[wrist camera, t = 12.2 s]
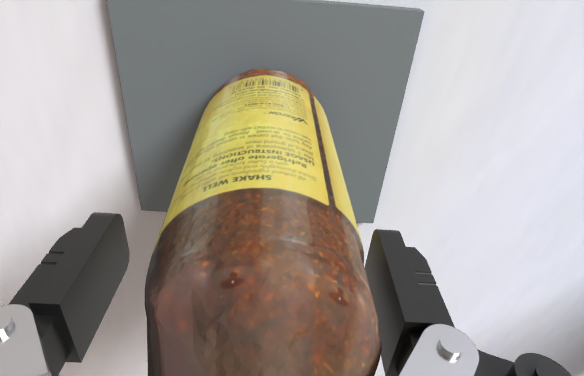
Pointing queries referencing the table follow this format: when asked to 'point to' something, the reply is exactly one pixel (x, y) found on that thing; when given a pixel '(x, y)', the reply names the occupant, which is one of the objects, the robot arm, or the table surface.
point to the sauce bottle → (261, 246)
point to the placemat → (262, 55)
